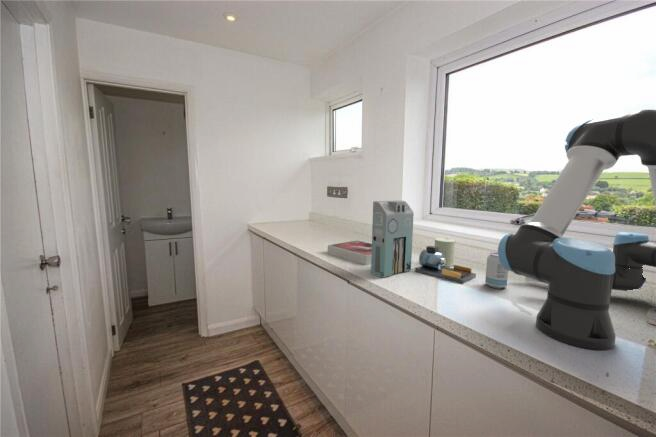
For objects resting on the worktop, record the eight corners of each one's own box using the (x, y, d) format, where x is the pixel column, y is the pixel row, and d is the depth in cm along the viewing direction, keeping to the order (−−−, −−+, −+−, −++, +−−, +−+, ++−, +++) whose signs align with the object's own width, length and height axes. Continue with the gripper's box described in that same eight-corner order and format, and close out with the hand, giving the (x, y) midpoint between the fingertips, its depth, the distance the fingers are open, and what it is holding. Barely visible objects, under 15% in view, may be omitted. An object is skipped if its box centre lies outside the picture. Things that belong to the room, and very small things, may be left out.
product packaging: (356, 248, 166) (356, 240, 165) (396, 259, 144) (396, 249, 144) (327, 254, 152) (327, 244, 152) (366, 266, 131) (366, 255, 130)
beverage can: (494, 282, 110) (497, 251, 108) (511, 288, 103) (514, 256, 102) (480, 284, 108) (483, 252, 106) (496, 290, 101) (499, 257, 100)
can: (457, 263, 135) (458, 238, 134) (449, 267, 128) (451, 241, 127) (437, 260, 141) (439, 236, 140) (429, 263, 135) (431, 238, 133)
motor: (462, 283, 108) (464, 256, 106) (415, 271, 122) (416, 247, 121) (475, 277, 115) (477, 251, 114) (429, 266, 130) (431, 243, 129)
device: (384, 278, 113) (387, 202, 109) (370, 273, 119) (372, 201, 116) (411, 271, 123) (414, 201, 119) (397, 266, 129) (399, 200, 125)
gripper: (613, 301, 86) (531, 293, 92) (568, 275, 110) (506, 270, 116) (616, 277, 85) (534, 270, 91) (571, 256, 109) (508, 252, 115)
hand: (518, 270), depth 103 cm, fingers open, 13 cm apart
